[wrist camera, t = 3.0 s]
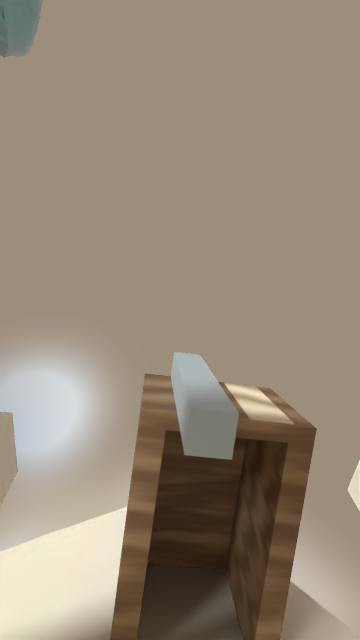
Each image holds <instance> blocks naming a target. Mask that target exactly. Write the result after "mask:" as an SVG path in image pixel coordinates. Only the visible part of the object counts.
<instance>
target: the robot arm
mask: <svg viewBox="0 0 360 640" xmlns="http://www.w3.org/2000/svg"><path fill="white" fill-rule="evenodd" d="M41 6H42V0H0V55H1V56H3V57H7V56H16V57H21V56H24V55H26V54H27V53H28V52H29V51H30V49H31V47H32V45H33V42H34V39H35V35H36V32H37V28H38V23H39V18H40V12H41ZM16 459H17V458H16V448H15V438H14V426H13V415H12V413H7V412H0V506H1V504H2V502H3V500H4V498H5V496H6V494H7V492H8V490H9V488H10V486H11V484H12V482H13V480H14V478H15V476H16V474H17V472H18V469H17V460H16ZM348 491H349V493H350V495H351V497H352V498H353V500H354V502H355V504H356V506H357V507H358V509H359V511H360V461H359V464H358V466H357V469H356V471H355V473H354V476H353V478H352V480H351V483H350V485H349V487H348Z"/></svg>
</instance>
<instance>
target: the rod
mask: <svg viewBox="0 0 360 640" xmlns="http://www.w3.org/2000/svg"><path fill="white" fill-rule="evenodd" d="M171 381H172V387H173V392H174V398H175V404H176V409H177V415H178V421H179V427H180V432H181V438H182V444H183V449H184V455H189V456H199V457H209V458H219V459H229V460H232V456H233V449H234V443H235V437H236V430H237V424H238V417H239V412H238V411H237V409H236V408H235V406H234V405H233V404H232V402H231V401H230V399H229V398H228V396H227V395H226V393H225V392H224V390H223V389H222V387H221V386H220V384H219V383H218V381H217V380H216V378H215V377H214V375H213V374H212V373H211V371H210V369H209V368H208V366H207V365H206V363H205V362H204V360H203V359H202V357H201V356H200V355H195V354H187V353H178V352H174V358H173V366H172V373H171Z"/></svg>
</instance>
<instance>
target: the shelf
mask: <svg viewBox="0 0 360 640" xmlns="http://www.w3.org/2000/svg"><path fill="white" fill-rule="evenodd" d="M218 383H219V384H220V386H221V387H222V389H223V390H224V392H225V393H226V395H227V396H228V398H229V399H230V401H231V402H232V404H233V405H234V406H235V408H236V409H237V411H238V412H239V417H238V424H237V430H236V437H235V443H234V449H233V456H232V460H229V459H219V458H209V457H199V456H189V455H184V449H183V444H182V438H181V432H180V427H179V421H178V415H177V409H176V404H175V398H174V392H173V387H172V381H171V376H162V375H153V374H145V379H144V386H143V394H142V401H141V409H140V416H139V424H138V431H137V439H136V447H135V454H134V462H133V470H132V478H131V484H130V492H129V500H128V507H127V515H126V522H125V530H124V537H123V545H122V553H121V560H120V568H119V576H118V584H117V592H116V599H115V607H114V615H113V623H112V631H111V638H110V640H137V634H138V626H139V619H140V612H141V605H142V597H143V590H144V583H145V576H146V569H147V563H148V564H161V565H175V566H189V567H203V568H217V569H226V572H227V576H228V580H229V584H230V588H231V592H232V596H233V600H234V604H235V608H236V612H237V616H238V620H239V624H240V628H241V632H242V635H243V639H244V640H280V634H281V629H282V623H283V617H284V612H285V606H286V600H287V595H288V589H289V583H290V577H291V572H292V566H293V560H294V555H295V549H296V543H297V538H298V532H299V526H300V520H301V515H302V509H303V503H304V498H305V492H306V486H307V480H308V474H309V469H310V463H311V458H312V452H313V446H314V440H315V435H316V428H315V427H314V426H313V425H312V424H311V423H309V422H308V421H307V420H306V419H305V418H304V417H303V416H301V415H300V414H299V413H298V412H297V411H296V410H294V409H293V408H292V407H291V406H290V405H289V404H288V403H286V402H285V401H284V400H283V399H282V398H281V397H279V396H278V395H277V394H276V393H275V392H274V391H273V390H272V389H270V388H264V387H256V386H255V387H254V386H246V385H239V384H230V383H222V382H218Z"/></svg>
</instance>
